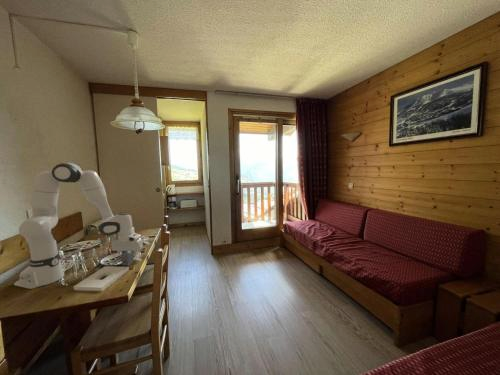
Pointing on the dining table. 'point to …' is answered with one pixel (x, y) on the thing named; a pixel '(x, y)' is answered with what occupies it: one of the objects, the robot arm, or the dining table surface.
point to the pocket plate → (99, 285)
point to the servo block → (127, 258)
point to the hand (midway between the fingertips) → (128, 256)
